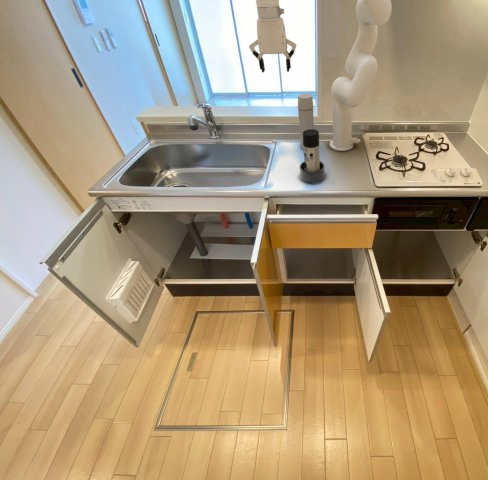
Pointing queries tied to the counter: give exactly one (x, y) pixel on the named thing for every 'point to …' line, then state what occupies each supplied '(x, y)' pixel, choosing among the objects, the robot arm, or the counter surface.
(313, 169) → the spray can
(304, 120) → the water bottle
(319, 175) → the can holder
